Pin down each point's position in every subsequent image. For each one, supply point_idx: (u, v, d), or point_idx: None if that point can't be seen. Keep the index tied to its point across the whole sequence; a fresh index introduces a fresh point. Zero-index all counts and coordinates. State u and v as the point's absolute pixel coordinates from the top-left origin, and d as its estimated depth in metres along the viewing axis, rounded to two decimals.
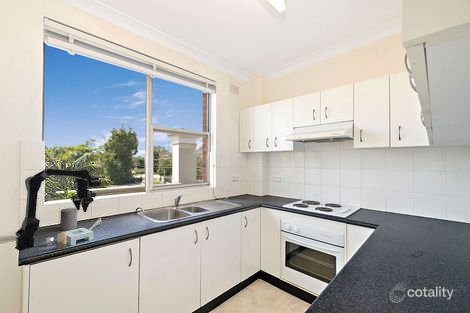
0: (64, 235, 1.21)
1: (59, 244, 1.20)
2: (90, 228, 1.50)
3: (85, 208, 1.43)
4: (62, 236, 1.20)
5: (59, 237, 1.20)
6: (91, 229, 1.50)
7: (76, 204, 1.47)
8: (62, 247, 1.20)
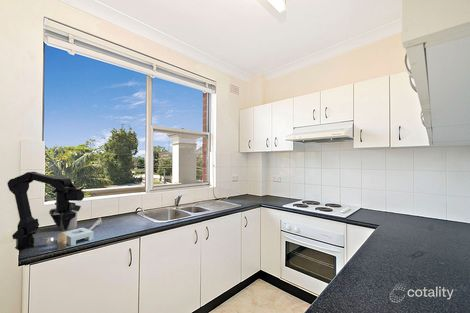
0: (64, 235, 1.21)
1: (59, 244, 1.20)
2: (90, 228, 1.49)
3: (66, 225, 1.19)
4: (62, 236, 1.20)
5: (59, 237, 1.20)
6: (91, 229, 1.50)
7: (56, 219, 1.23)
8: (62, 247, 1.20)
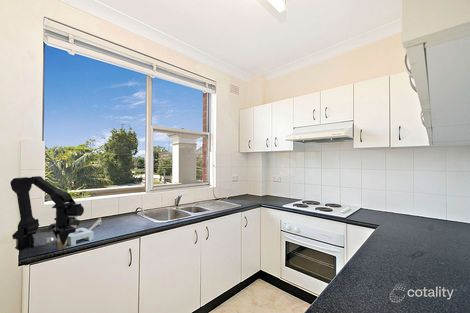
0: None
1: (59, 244, 1.20)
2: (90, 228, 1.49)
3: (63, 240, 1.20)
4: None
5: None
6: (91, 229, 1.50)
7: None
8: (62, 247, 1.20)
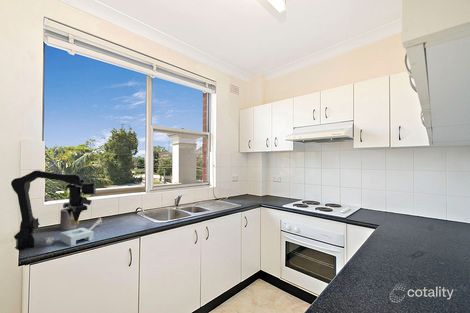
0: None
1: (72, 221, 1.29)
2: (90, 228, 1.49)
3: (76, 217, 1.29)
4: None
5: None
6: (91, 229, 1.50)
7: (70, 213, 1.31)
8: (75, 224, 1.29)
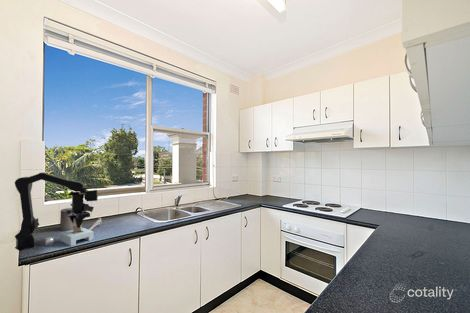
0: None
1: (75, 228, 1.31)
2: (90, 228, 1.49)
3: (79, 224, 1.31)
4: None
5: None
6: (91, 229, 1.50)
7: (73, 220, 1.33)
8: (78, 230, 1.32)
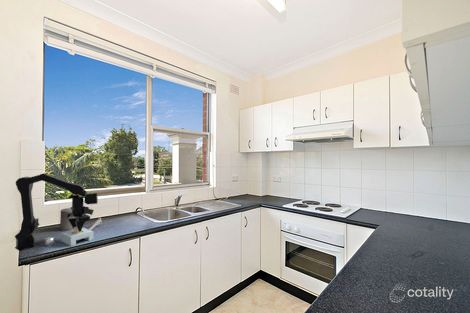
0: None
1: None
2: (90, 228, 1.49)
3: (80, 227, 1.31)
4: None
5: (75, 230, 1.31)
6: (91, 229, 1.50)
7: (72, 223, 1.34)
8: None
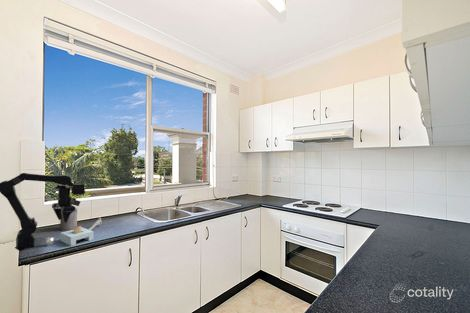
0: (79, 228, 1.33)
1: None
2: (90, 228, 1.49)
3: (66, 218, 1.30)
4: (78, 229, 1.32)
5: (75, 230, 1.31)
6: (91, 229, 1.50)
7: (57, 213, 1.34)
8: None
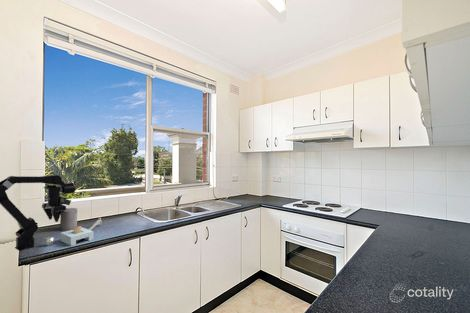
0: (79, 228, 1.33)
1: None
2: (90, 228, 1.49)
3: (57, 217, 1.30)
4: (78, 229, 1.32)
5: (75, 230, 1.31)
6: (91, 229, 1.50)
7: (48, 213, 1.34)
8: None
